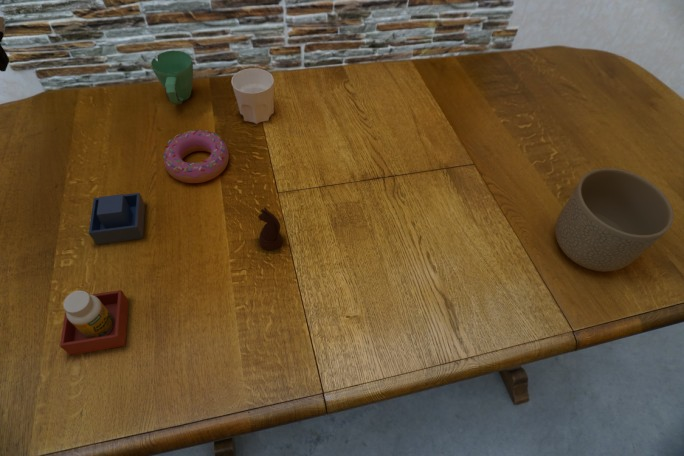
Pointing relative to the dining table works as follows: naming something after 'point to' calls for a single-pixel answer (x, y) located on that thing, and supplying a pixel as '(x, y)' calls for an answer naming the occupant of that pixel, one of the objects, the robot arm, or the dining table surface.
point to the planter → (612, 219)
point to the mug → (174, 74)
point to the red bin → (79, 343)
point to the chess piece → (270, 231)
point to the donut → (192, 143)
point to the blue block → (114, 211)
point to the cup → (254, 94)
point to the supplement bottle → (88, 314)
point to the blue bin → (119, 233)
